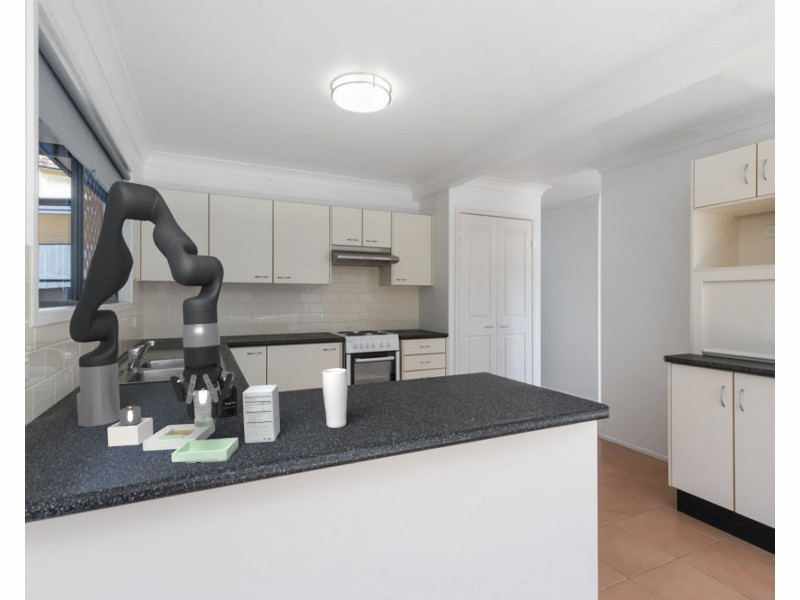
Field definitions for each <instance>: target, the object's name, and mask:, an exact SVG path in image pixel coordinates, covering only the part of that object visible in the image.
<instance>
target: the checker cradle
mask: <svg viewBox="0 0 800 600" xmlns="http://www.w3.org/2000/svg"><path fill="white" fill-rule="evenodd" d="M185 430H195V431H193V432H192V433H191V434H190V435H187V436H184V434H177V435H170V434H171V433H173V432H174V431H185ZM214 432H216V423H215V424H214V425H211V426H207V427H195V426H194V423H187V424H186V423H184V424H183V423H182V424H168V425H166V426H165V427H163V428H162V429H160V430H159V431H156V432H155V433H153V435H152V436H151V437H149V438H148V439H146V440H145V441H143V442H142V451H144V452H149V451H163V450H177V449H178V448H179V447H180V446H182V445H183V444H184V443H185V442H187V441H188V440H206V439H208V438H209V437H211V435H212V434H213V433H214Z"/></svg>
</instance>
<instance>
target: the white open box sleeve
mask: <svg viewBox="0 0 800 600" xmlns="http://www.w3.org/2000/svg"><path fill="white" fill-rule="evenodd" d="M153 418H154V417H141V423H140V424H138V425H137V426H121V427H120V421H118V422H117V423H114V424H112V425H110V426H109V427H107V441H108V442H107V444H108V445H107V446H108V447H119V446H120V447H121V446H123V447H124V446H125V447H126V446H137V445H138V446H139V445H141V444H143V441H145V440H146V439H148V438H149V437H151V436H152V435H154V422H153Z"/></svg>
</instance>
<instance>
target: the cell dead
mask: <svg viewBox="0 0 800 600" xmlns="http://www.w3.org/2000/svg"><path fill="white" fill-rule="evenodd" d="M141 409H142V408H141V406H139V405H137V406H135V405H128V406H126V407H123V408H120V419H119V422H120V427H121V426H137V425H138V424H140V423H141V418H142V413H141Z"/></svg>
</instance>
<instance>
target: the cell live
mask: <svg viewBox="0 0 800 600" xmlns="http://www.w3.org/2000/svg"><path fill="white" fill-rule="evenodd" d="M213 402H214V401H213V399H212V396H211V394H210V393H209V391H208V389H205V388H200V389H195V391H194V392H193V405H194V420H193V421H194V423H193V424H194V426H195V427H207V426H211V425H214V424H215V425H216V424H217V419H213V408H212V403H213Z"/></svg>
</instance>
